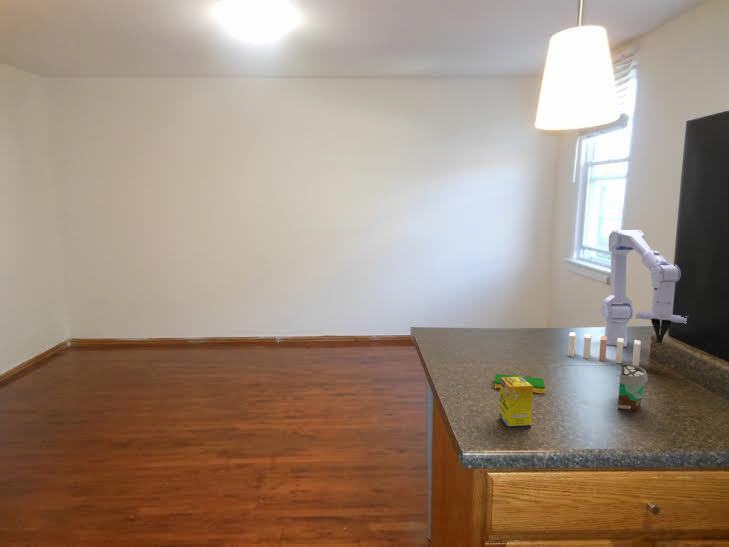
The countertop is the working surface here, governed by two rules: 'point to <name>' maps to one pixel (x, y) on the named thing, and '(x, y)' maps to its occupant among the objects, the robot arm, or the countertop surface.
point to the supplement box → (515, 402)
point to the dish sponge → (535, 382)
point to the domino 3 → (603, 348)
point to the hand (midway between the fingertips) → (659, 342)
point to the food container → (631, 387)
